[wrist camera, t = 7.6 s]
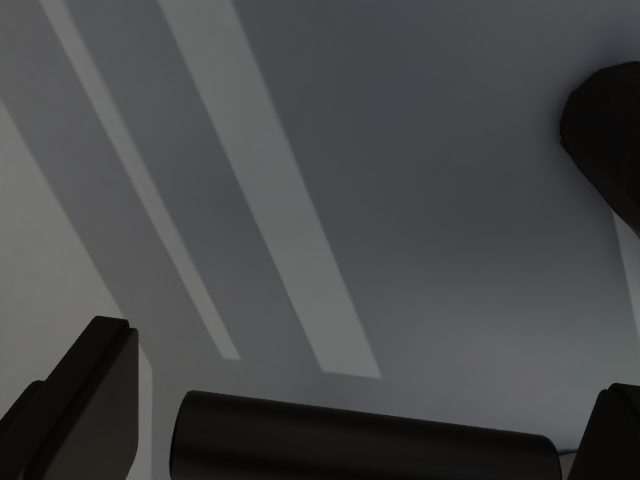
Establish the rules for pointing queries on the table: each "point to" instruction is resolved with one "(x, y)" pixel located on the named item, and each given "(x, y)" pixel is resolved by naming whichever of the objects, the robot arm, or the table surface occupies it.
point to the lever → (342, 445)
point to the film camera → (608, 136)
